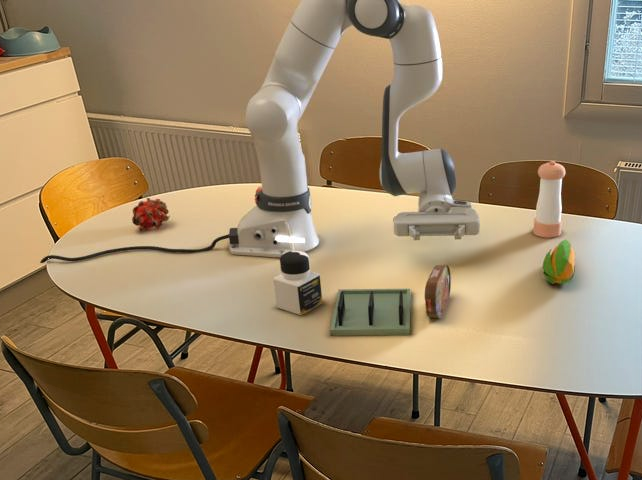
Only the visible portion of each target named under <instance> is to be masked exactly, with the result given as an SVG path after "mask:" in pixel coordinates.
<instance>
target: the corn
mask: <svg viewBox="0 0 642 480" xmlns="http://www.w3.org/2000/svg"><path fill="white" fill-rule="evenodd" d="M575 259H576V253H575V250H574V249H573V246H572V244H571V243H570V241H569V240H568V239H563V240H561V241H560V242H559V244H558V245H557V246H556V247H554V249H553V251H552V249H549V251H548V252H547V253H546V255H545V257H544V258H543V262H542V271H543V272H542V273H543V275H544V278H545V280H546V281H547V282H548V283H550V284H551V285H554V284H558V285H559V286H562V285H564V284H567V283H568V282H570V280H572V278H573V277H574V275H575V272H576V271H575V269H576V268H575Z"/></svg>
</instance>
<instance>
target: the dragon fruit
mask: <svg viewBox="0 0 642 480" xmlns="http://www.w3.org/2000/svg"><path fill="white" fill-rule="evenodd" d="M169 212H170V211H169V209H168V206H167V203H166V202H164V201H163V200H161V199H160V198H156V199H155V200H154V199H151V198H150V197H146V201H143V200H142V201H139V202H138V204H137V205H136V206H134V207H133V208H132V214H133V215H132V219H131V222H132V224H133V225H134V226H136V227H138V230H139V231H140V232H142V231H149V230H151V229H152V228H156V230H159V229H160V228H161V227H162V226H163V222H167V221H169V219H170V217H171V216H170V215H168V214H169Z"/></svg>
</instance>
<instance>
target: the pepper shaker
mask: <svg viewBox="0 0 642 480" xmlns="http://www.w3.org/2000/svg"><path fill="white" fill-rule="evenodd" d="M537 175H538V176H539V177H540V181H539V193H538V197H537V202H536V205H535V206H536V207H535V218H534V219H533V235H535V236H537V237H541V238H546V239H547V238H550V239H551V238H556V237H558V236H560V235H561V234H562V226H563V225H562V222H563V221H562V219H561V218H562V210H563V208H562V194H561V193H562V184H563V183H562V182H563V179H564V178H565V176H566V168H565V167H564V166H563V165H562V164H560V163H556V161H554V160H550V161H549V162H546V163H543V164H541V165H540V166H539V167H538V170H537Z"/></svg>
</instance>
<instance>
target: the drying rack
mask: <svg viewBox="0 0 642 480" xmlns="http://www.w3.org/2000/svg"><path fill="white" fill-rule="evenodd" d="M411 298H412V297H411V288H347V289H341V288H340V289H339V288H338V290H337V295H336V299H335V304H334V309H333V313H332V319H331V323H330V328H329V336H331V337H344V336H345V337H346V336H347V337H349V336H410V334H411V333H410V332H411V300H412V299H411Z"/></svg>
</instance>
